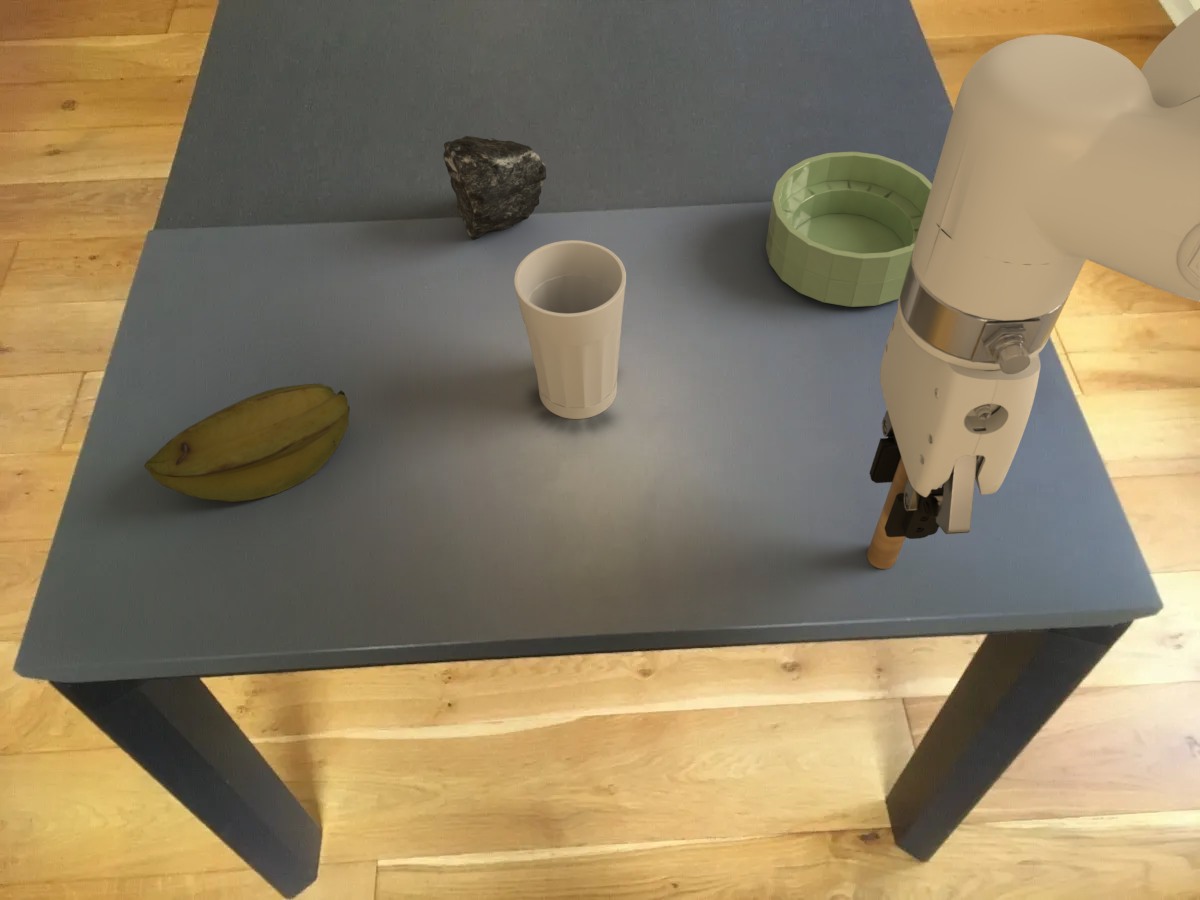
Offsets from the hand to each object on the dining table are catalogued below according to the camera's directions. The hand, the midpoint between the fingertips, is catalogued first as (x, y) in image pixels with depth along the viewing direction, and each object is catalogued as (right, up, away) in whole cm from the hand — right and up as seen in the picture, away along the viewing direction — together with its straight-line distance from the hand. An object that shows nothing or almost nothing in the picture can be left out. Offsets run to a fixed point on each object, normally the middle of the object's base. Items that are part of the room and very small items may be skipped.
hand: (901, 502), depth 63 cm
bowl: (+3, +21, +25) cm, 32 cm away
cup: (-21, +8, +16) cm, 28 cm away
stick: (0, -4, +5) cm, 7 cm away
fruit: (-45, +2, +12) cm, 47 cm away
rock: (-29, +24, +29) cm, 48 cm away
